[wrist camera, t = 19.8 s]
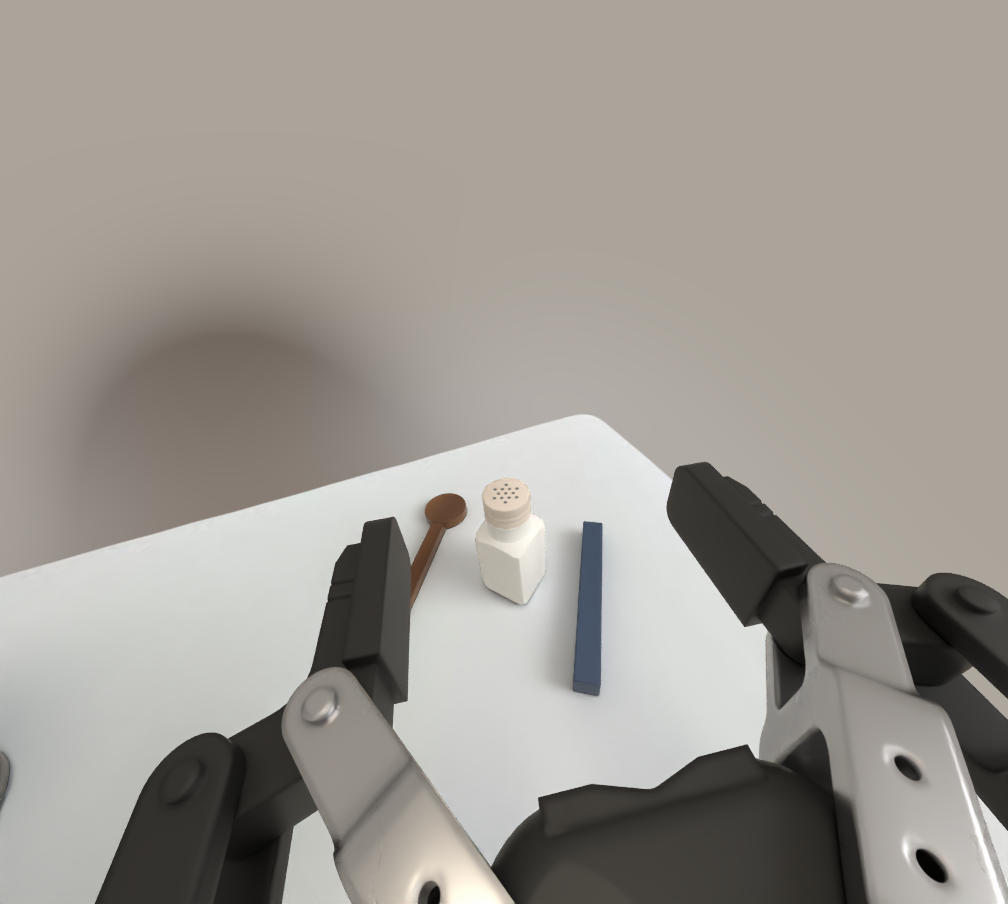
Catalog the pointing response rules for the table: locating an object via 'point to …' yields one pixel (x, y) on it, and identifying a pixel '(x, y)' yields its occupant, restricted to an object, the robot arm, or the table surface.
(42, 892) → the table surface
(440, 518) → the wooden spoon
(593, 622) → the blue stick
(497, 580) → the salt shaker
